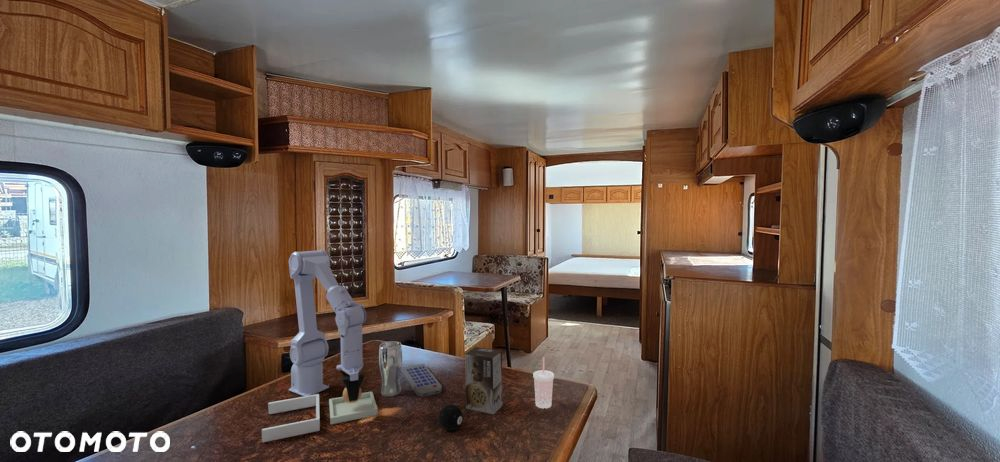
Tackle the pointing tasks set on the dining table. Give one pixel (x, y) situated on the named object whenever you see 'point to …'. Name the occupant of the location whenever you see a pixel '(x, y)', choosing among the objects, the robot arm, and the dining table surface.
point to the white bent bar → (296, 427)
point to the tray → (352, 408)
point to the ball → (345, 396)
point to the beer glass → (390, 367)
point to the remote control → (422, 380)
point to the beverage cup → (543, 387)
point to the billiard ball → (450, 417)
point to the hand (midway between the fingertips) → (352, 396)
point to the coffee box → (483, 380)
